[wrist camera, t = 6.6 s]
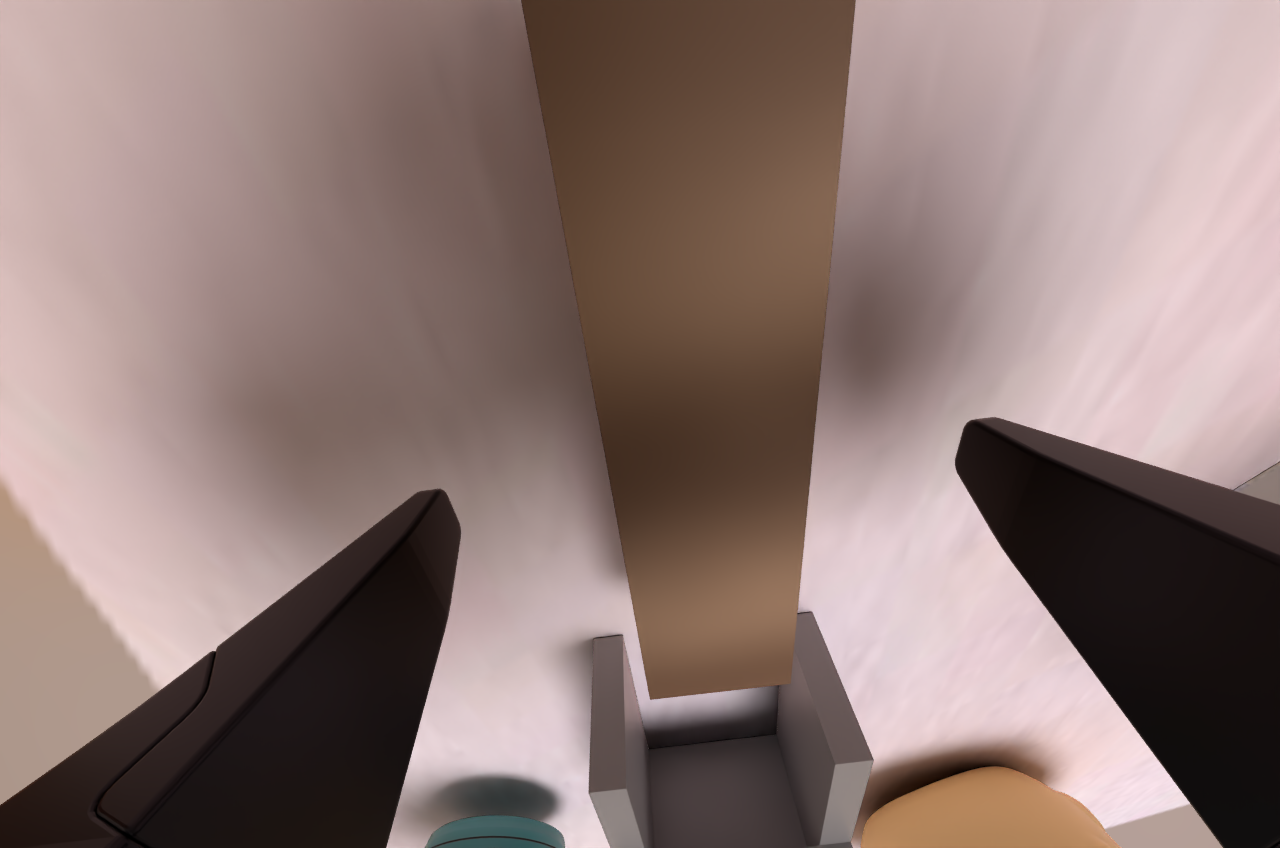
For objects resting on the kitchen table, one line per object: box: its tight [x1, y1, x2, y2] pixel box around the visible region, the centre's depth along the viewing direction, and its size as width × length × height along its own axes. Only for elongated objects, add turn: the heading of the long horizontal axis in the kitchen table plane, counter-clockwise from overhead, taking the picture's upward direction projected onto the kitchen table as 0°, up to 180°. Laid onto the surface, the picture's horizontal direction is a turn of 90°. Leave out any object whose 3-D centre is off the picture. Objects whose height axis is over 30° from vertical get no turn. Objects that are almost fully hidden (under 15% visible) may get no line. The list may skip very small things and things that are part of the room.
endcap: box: [589, 612, 874, 848], centre depth 17 cm, size 8×9×5 cm
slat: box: [521, 0, 856, 700], centre depth 10 cm, size 14×4×4 cm, turn 6°
